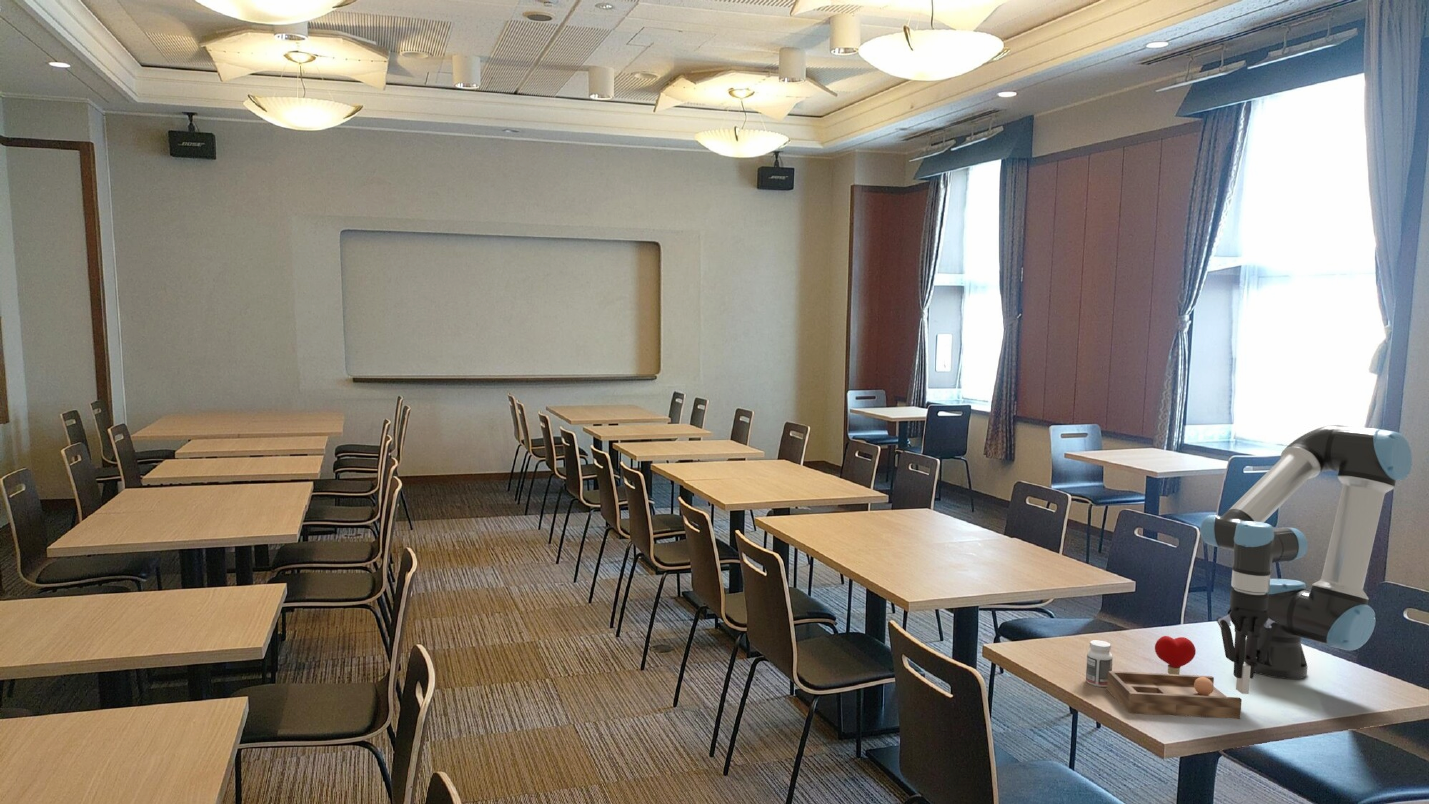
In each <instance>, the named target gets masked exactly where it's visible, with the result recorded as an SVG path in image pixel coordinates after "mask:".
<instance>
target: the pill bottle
mask: <svg viewBox="0 0 1429 804" xmlns="http://www.w3.org/2000/svg"><path fill="white" fill-rule="evenodd" d="M1089 648H1090V649H1089V650H1088V651H1087V653H1086V655H1087V656H1086V671H1085V681H1086V683H1088V684H1089V685H1091V686H1094V687H1098V688H1107V679H1108V671H1113V654H1112V653H1111V652H1110V651H1111V649H1112V645H1111V643H1110V642H1107V641H1105V640H1096V639H1094V640H1093V639H1092V640H1090V642H1089Z"/></svg>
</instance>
